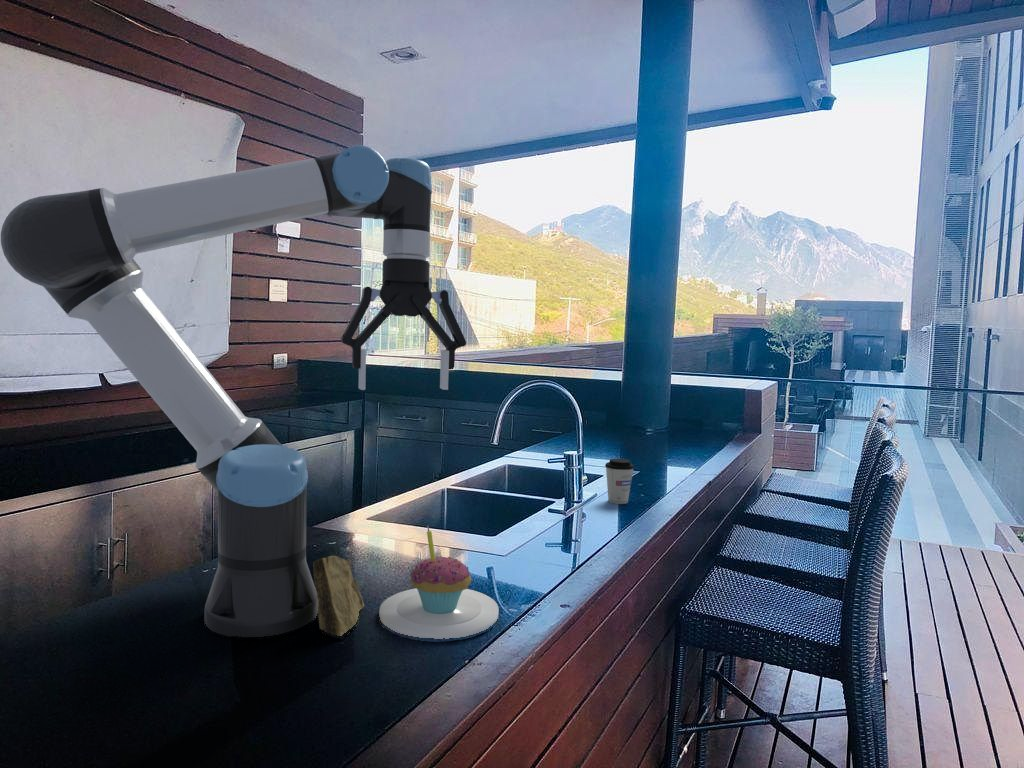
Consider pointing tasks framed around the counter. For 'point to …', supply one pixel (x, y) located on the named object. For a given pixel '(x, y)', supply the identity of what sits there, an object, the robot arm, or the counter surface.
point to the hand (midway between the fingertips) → (403, 389)
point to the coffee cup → (619, 480)
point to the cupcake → (440, 581)
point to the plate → (438, 615)
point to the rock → (336, 595)
